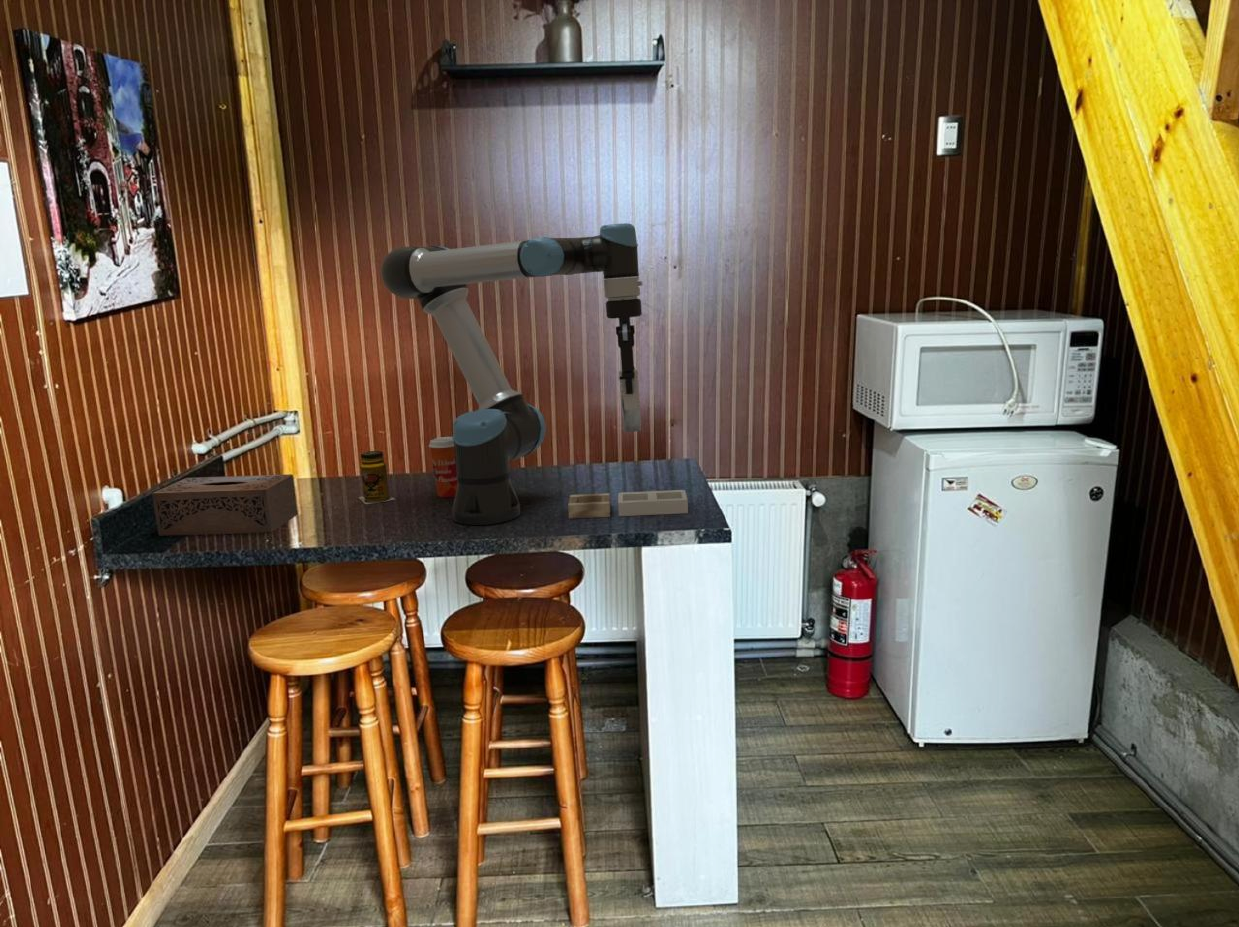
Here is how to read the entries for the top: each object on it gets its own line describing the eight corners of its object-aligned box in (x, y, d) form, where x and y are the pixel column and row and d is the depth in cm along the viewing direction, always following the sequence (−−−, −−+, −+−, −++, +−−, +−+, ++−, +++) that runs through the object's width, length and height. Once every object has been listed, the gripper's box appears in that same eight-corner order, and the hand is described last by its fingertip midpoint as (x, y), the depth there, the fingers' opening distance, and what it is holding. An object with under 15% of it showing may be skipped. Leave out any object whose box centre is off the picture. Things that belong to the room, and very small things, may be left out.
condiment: (365, 505, 219) (360, 456, 216) (358, 498, 226) (353, 451, 224) (395, 500, 222) (390, 452, 220) (387, 493, 229) (382, 447, 227)
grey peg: (628, 432, 196) (624, 372, 193) (620, 430, 199) (615, 371, 197) (644, 430, 198) (640, 370, 195) (635, 427, 201) (631, 369, 198)
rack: (618, 516, 199) (618, 503, 198) (618, 505, 207) (618, 492, 207) (688, 513, 198) (687, 499, 198) (685, 502, 207) (684, 489, 207)
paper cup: (428, 498, 222) (422, 442, 219) (441, 490, 230) (436, 436, 227) (457, 498, 220) (452, 442, 217) (470, 491, 228) (465, 436, 225)
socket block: (568, 518, 199) (568, 505, 198) (571, 507, 207) (570, 495, 207) (609, 516, 199) (609, 503, 198) (610, 505, 207) (609, 493, 207)
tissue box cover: (298, 515, 213) (292, 474, 211) (271, 533, 199) (265, 489, 197) (192, 518, 215) (186, 477, 213) (159, 536, 201) (151, 493, 199)
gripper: (640, 298, 184) (648, 412, 189) (640, 296, 201) (647, 400, 206) (603, 301, 184) (612, 414, 189) (607, 298, 201) (615, 403, 206)
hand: (630, 407), depth 197 cm, fingers closed on grey peg, 4 cm apart
